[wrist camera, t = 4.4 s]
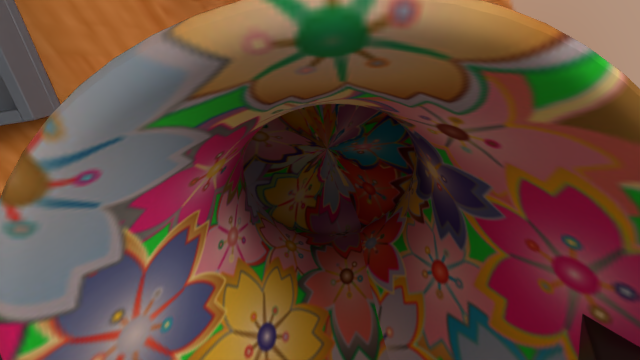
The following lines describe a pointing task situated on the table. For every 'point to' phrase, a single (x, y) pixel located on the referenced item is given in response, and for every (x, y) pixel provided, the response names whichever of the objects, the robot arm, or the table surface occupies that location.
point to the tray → (21, 72)
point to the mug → (329, 192)
